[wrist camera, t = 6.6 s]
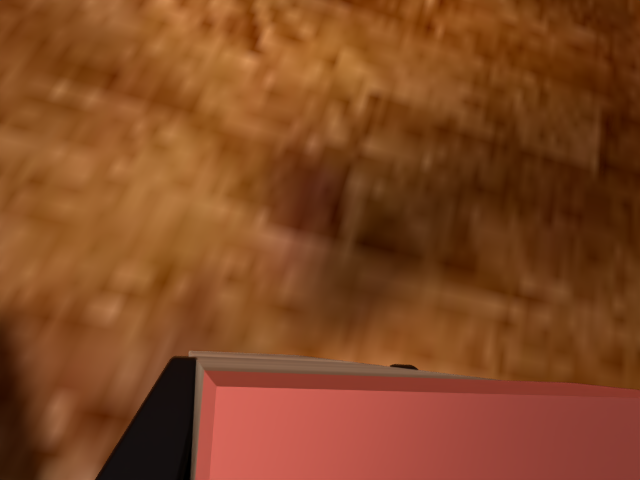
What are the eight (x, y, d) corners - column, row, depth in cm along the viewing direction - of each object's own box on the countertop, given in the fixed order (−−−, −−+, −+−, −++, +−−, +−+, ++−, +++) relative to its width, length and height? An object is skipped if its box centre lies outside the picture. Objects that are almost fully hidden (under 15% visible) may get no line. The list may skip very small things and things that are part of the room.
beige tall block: (292, 468, 16) (802, 1052, 3) (176, 468, 16) (147, 1259, 2) (298, 353, 17) (740, 401, 4) (187, 349, 16) (216, 387, 3)
